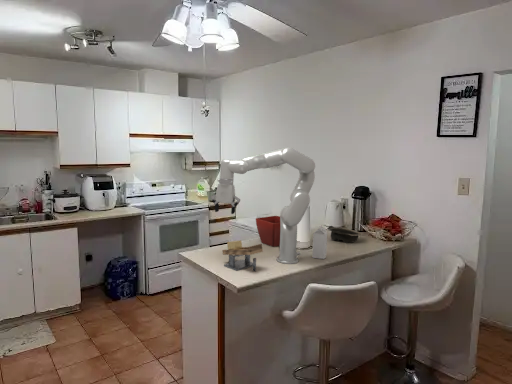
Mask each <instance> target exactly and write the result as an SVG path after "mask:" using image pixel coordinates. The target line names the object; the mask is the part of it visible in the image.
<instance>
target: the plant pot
mask: <svg viewBox="0 0 512 384" xmlns="http://www.w3.org/2000/svg"><path fill="white" fill-rule="evenodd" d="M255 224H256V228H257V233H258V236H259V237H258V238H259V239H260V240H259V241H260V242H261V244H263V245H267V246H271V248H274V247H280V215H270V216H263V217H256V218H255Z"/></svg>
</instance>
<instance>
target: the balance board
mask: <svg viewBox="0 0 512 384" xmlns="http://www.w3.org/2000/svg"><path fill="white" fill-rule="evenodd" d="M262 244H263V243H260V244H255V245H251V246H242V250H228V249H222V255H225V256H229V255H243V256H245V255H250V256H252V255H255V254H260V253H263V252H264V250H263V245H262Z"/></svg>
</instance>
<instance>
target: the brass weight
mask: <svg viewBox="0 0 512 384" xmlns="http://www.w3.org/2000/svg"><path fill="white" fill-rule="evenodd" d="M242 247H243V241H242V240H230V241H227V250H242Z"/></svg>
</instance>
